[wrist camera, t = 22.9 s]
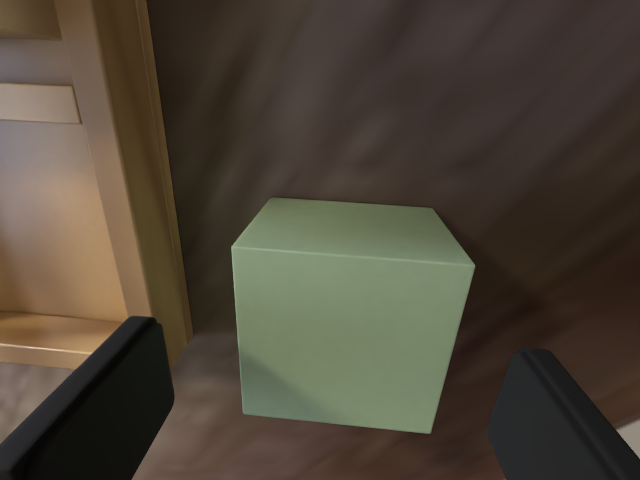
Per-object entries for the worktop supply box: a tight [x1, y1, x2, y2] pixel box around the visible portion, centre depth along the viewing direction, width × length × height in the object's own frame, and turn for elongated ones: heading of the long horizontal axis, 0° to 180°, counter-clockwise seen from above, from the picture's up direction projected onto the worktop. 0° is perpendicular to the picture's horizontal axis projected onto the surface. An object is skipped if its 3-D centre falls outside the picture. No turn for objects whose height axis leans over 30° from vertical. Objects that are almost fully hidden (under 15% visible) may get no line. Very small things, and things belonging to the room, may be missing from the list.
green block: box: [231, 197, 475, 434], centre depth 11 cm, size 6×6×4 cm
